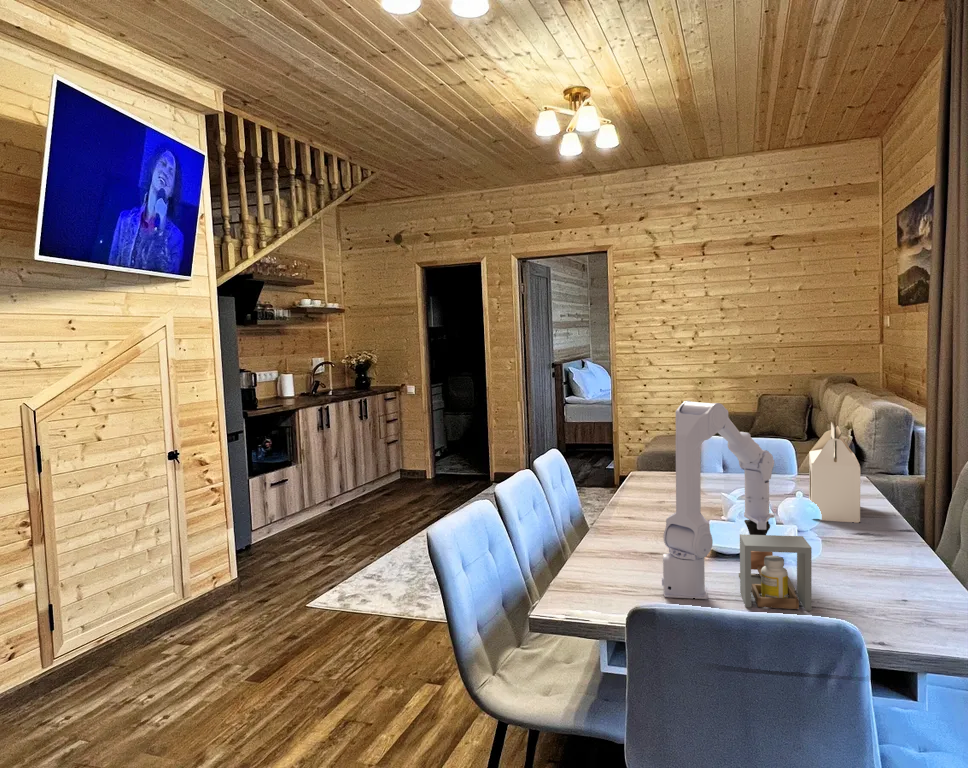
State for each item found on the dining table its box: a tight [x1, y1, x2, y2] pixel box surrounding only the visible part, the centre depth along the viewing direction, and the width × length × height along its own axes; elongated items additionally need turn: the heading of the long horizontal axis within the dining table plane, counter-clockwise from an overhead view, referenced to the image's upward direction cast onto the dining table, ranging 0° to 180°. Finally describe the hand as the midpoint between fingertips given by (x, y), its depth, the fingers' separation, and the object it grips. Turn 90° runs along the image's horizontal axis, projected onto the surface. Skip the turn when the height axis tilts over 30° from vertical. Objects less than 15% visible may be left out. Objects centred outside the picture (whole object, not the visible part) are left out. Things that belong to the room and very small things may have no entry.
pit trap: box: [738, 572, 797, 595], centre depth 160 cm, size 11×10×1 cm
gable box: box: [808, 421, 861, 524], centre depth 216 cm, size 22×13×28 cm, turn 156°
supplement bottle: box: [760, 555, 789, 598], centre depth 150 cm, size 5×5×10 cm
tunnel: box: [739, 533, 813, 612], centre depth 150 cm, size 13×8×14 cm, turn 77°
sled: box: [751, 551, 800, 610], centre depth 157 cm, size 8×22×5 cm, turn 167°
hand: (757, 549), depth 172 cm, fingers closed
